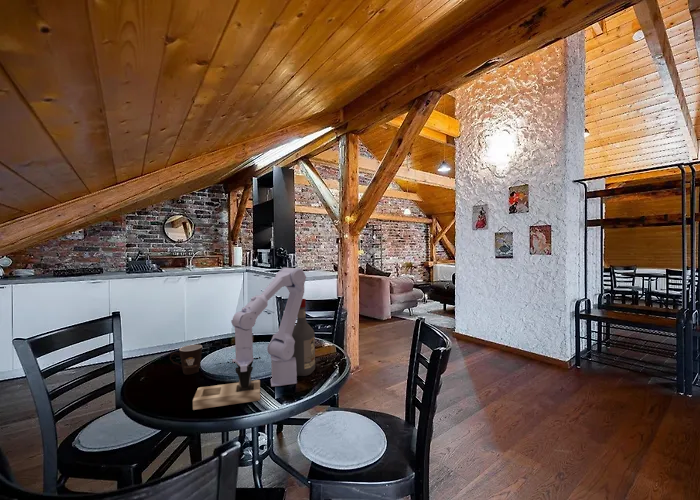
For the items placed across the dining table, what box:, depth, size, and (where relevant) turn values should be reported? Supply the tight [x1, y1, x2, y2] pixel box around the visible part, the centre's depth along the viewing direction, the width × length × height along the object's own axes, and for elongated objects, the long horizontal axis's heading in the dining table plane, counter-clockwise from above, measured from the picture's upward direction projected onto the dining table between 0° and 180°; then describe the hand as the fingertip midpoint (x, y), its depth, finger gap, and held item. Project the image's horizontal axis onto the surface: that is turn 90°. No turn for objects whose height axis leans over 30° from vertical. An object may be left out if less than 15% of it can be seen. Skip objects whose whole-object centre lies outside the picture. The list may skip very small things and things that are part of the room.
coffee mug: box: [169, 344, 203, 375], centre depth 138 cm, size 12×9×10 cm
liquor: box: [292, 298, 316, 377], centre depth 135 cm, size 9×9×30 cm
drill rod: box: [238, 366, 252, 392], centre depth 115 cm, size 4×4×10 cm
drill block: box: [192, 379, 261, 411], centre depth 113 cm, size 21×10×3 cm, turn 106°
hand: (245, 384), depth 115 cm, fingers closed on drill rod, 4 cm apart
